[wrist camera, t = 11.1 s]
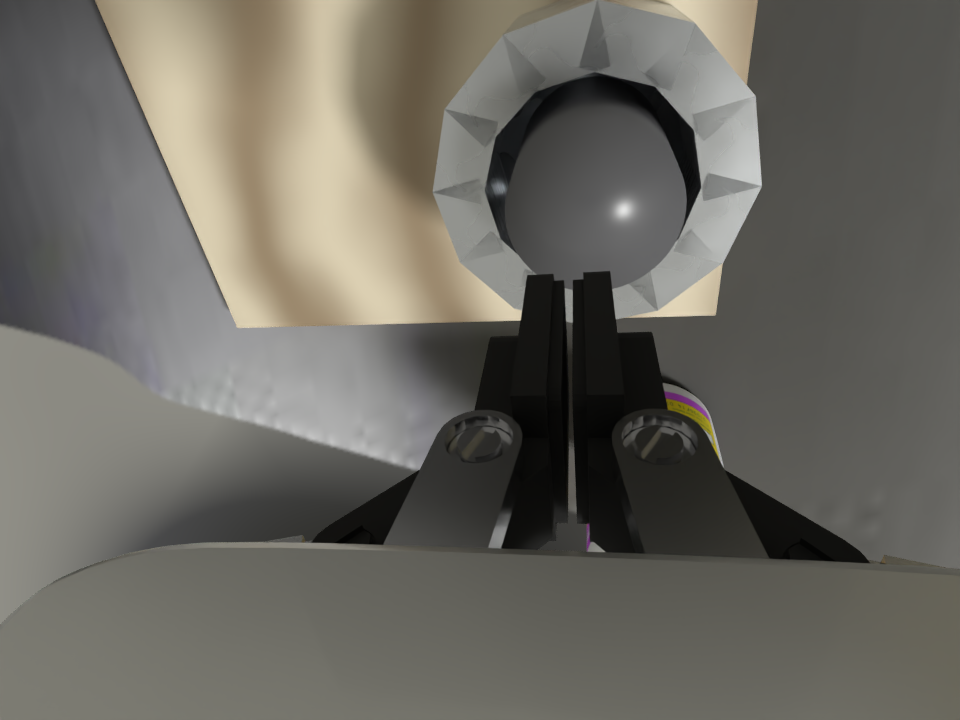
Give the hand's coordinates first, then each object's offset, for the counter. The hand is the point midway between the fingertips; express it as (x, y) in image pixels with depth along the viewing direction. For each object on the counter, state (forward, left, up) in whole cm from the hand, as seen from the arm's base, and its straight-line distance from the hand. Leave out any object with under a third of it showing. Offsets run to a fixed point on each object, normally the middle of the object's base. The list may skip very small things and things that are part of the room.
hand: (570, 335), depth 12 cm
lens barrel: (0, 0, -13) cm, 13 cm away
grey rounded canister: (0, 0, -12) cm, 12 cm away
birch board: (+4, -4, -14) cm, 16 cm away
